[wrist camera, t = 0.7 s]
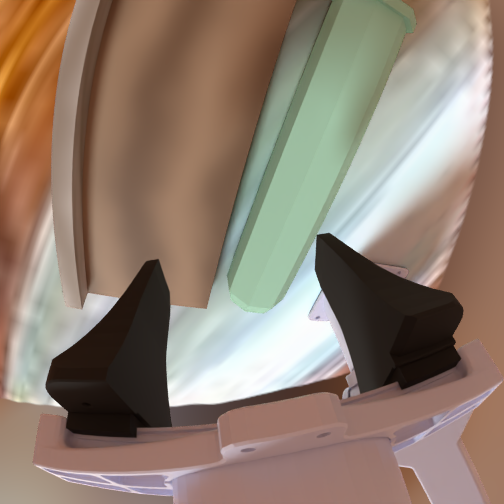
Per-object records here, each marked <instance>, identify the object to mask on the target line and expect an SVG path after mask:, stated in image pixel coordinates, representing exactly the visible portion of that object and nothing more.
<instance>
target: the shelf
mask: <svg viewBox="0 0 504 504" xmlns="http://www.w3.org/2000/svg"><path fill="white" fill-rule="evenodd" d="M296 1H297V0H76V3H75V6H74V10H73V13H72V17H71V20H70V24H69V28H68V32H67V36H66V41H65V45H64V50H63V55H62V60H61V65H60V71H59V77H58V84H57V91H56V99H55V108H54V119H53V134H52V162H51V179H52V207H53V221H54V233H55V242H56V251H57V258H58V266H59V272H60V278H61V284H62V290H63V295H64V300H65V305H66V306H67V307H72V308H77V309H82V308H83V305H84V302H85V299H86V296H87V293H93V294H99V295H105V296H112V297H118V298H120V297H121V296H122V295H123V293H124V292H125V291H126V289H127V288H128V286H129V285H130V284H131V282H132V281H133V279H134V278H135V276H136V275H137V273H138V272H139V270H140V269H141V267H142V266H143V265H144V263H145V262H146V261H149V260H155V259H159V261H160V264H161V268H162V271H163V273H164V276H165V279H166V282H167V285H168V288H169V291H170V305H177V306H186V307H195V308H204V309H207V305H208V301H209V297H210V293H211V289H212V285H213V281H214V277H215V273H216V269H217V265H218V261H219V257H220V254H221V250H222V246H223V242H224V239H225V235H226V231H227V227H228V224H229V220H230V216H231V213H232V209H233V205H234V202H235V198H236V194H237V191H238V187H239V184H240V180H241V177H242V173H243V170H244V166H245V163H246V159H247V156H248V152H249V149H250V145H251V142H252V139H253V135H254V132H255V128H256V125H257V122H258V118H259V115H260V112H261V109H262V105H263V102H264V99H265V95H266V92H267V89H268V86H269V83H270V79H271V76H272V73H273V70H274V67H275V64H276V61H277V57H278V54H279V51H280V48H281V45H282V42H283V39H284V36H285V33H286V30H287V27H288V24H289V21H290V18H291V15H292V12H293V9H294V6H295V3H296Z"/></svg>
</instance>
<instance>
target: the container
mask: <svg viewBox="0 0 504 504" xmlns="http://www.w3.org/2000/svg"><path fill="white" fill-rule="evenodd" d="M416 24H417V23H416V18H415V14H414V10H413V9H412V8H411V7H410V6H408V5H407V4H405V3H404V2H403V1H401V0H332V3H331V5H330V8H329V10H328V13H327V15H326V18H325V20H324V23H323V25H322V27H321V30H320V32H319V35H318V37H317V40H316V42H315V45H314V47H313V50H312V52H311V55H310V57H309V60H308V63H307V65H306V68H305V70H304V73H303V75H302V78H301V80H300V83H299V85H298V88H297V90H296V93H295V96H294V98H293V101H292V103H291V106H290V109H289V111H288V114H287V116H286V119H285V121H284V124H283V127H282V129H281V132H280V135H279V137H278V140H277V142H276V145H275V148H274V150H273V153H272V156H271V158H270V161H269V163H268V166H267V169H266V171H265V174H264V177H263V179H262V182H261V185H260V187H259V190H258V193H257V195H256V198H255V201H254V204H253V206H252V209H251V212H250V214H249V217H248V220H247V222H246V225H245V228H244V231H243V233H242V236H241V239H240V242H239V244H238V247H237V250H236V253H235V255H234V258H233V261H232V264H231V266H230V269H229V272H228V275H227V277H228V285H229V292H230V298H231V300H232V301H233V302H234V303H235V304H237V305H238V306H239V307H240V308H242V309H243V310H244V311H246V312H254V313H263V314H264V313H265V312H267V311H269V310H270V309H272V308H273V307H274V306H275V305H276V304H278V303H279V302H280V301H281V300H282V299H283V298H284V296H285V295H286V293H287V291H288V289H289V287H290V285H291V283H292V281H293V280H294V278H295V276H296V274H297V272H298V270H299V268H300V266H301V264H302V262H303V260H304V259H305V257H306V255H307V253H308V251H309V249H310V247H311V245H312V243H313V241H314V239H315V237H316V235H317V233H318V231H319V229H320V227H321V225H322V223H323V221H324V219H325V217H326V215H327V213H328V211H329V209H330V207H331V205H332V203H333V201H334V199H335V197H336V194H337V192H338V190H339V188H340V186H341V184H342V182H343V180H344V178H345V175H346V173H347V171H348V169H349V167H350V165H351V163H352V160H353V158H354V156H355V154H356V152H357V149H358V147H359V145H360V143H361V141H362V138H363V136H364V134H365V132H366V129H367V127H368V125H369V122H370V120H371V118H372V116H373V113H374V111H375V109H376V106H377V104H378V101H379V99H380V97H381V94H382V92H383V90H384V87H385V85H386V82H387V80H388V77H389V75H390V72H391V70H392V67H393V65H394V62H395V60H396V57H397V55H398V52H399V49H400V47H401V44H402V42H403V39H404V36H405V34H406V33H413V32H414V30H415V27H416Z"/></svg>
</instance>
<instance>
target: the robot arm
mask: <svg viewBox="0 0 504 504" xmlns="http://www.w3.org/2000/svg"><path fill="white" fill-rule="evenodd" d="M315 272H316V275H317V278H318V281H319V283H320V286H321V289H322V291H321V293H320V295H319V297H318V299H317V301H316V302H315V304H314V306H313V308H312V310H311V312H310V313H309V315H308V317H309V319H310V320H315V321H329V322H330V324H331V326H332V329H333V331H334V333H335V336H336V338H337V340H338V343H339V345H340V347H341V350H342V352H343V354H344V357H345V359H346V362H347V364H348V367H349V369H350V371H351V373H350V374H349V375H348V376H346V380H347V382H348V385H349V387H348V388H347V389H345V390H344V392H343V396H342V397H343V398H342V400H339V398H338V395H335V394H331V393H327V392H323V393H316V394H310V395H305V396H301V397H296V398H292V399H287V400H282V401H276V402H271V403H265V404H259V405H253V406H248V407H242V408H238V409H234V410H230V411H228V412H226V413H225V414H223V415H221V416H220V417H219V418H218V422H217V424H208V425H197V426H182V427H172V424H171V417H170V409H169V400H168V389H167V372H166V350H167V340H168V330H169V320H170V291H169V288H168V285H167V282H166V279H165V276H164V273H163V271H162V268H161V264H160V261H159V259H155V260H149V261H146V262H145V263H144V265H143V266H142V267H141V269H140V270H139V272H138V273H137V275H136V276H135V278H134V279H133V281H132V282H131V284H130V285H129V286H128V288H127V289H126V291H125V292H124V293H123V295H122V296H121V297H120V299H119V300H118V301H117V303H116V304H115V305H114V306H113V308H112V309H111V310H110V311H109V312H108V313H107V314H106V316H105V317H104V318H103V319H102V320H101V321H100V322H99V323H98V324H97V325H96V326H95V327H94V328H93V329H92V330H91V331H90V332H88V333H87V334H86V335H85V336H84V337H83V338H82V339H80V340H79V341H78V342H77V343H75V344H74V345H73V346H71V347H70V348H69V349H67V350H66V351H64V352H63V353H61V354H60V355H58V356H57V357H55V358H54V359H53V360H52V363H51V366H50V370H49V373H48V377H47V381H46V390H47V392H48V393H49V395H50V396H51V397H52V398H53V399H54V400H55V401H56V402H58V403H59V404H60V405H61V406H62V407H63V408H64V409H66V410H67V411H68V417H67V418H65V417H63V416H58V415H50V414H41V415H40V420H39V426H38V431H37V437H36V444H35V450H34V457H33V464H34V465H35V466H37V467H39V468H41V469H43V470H45V471H47V472H49V473H51V474H53V475H55V476H57V477H60V478H62V479H64V480H66V481H69V482H74V483H78V484H83V485H89V486H94V487H100V488H106V489H111V490H117V491H125V492H131V493H140V494H150V495H162V496H173V499H174V500H173V501H174V504H412V503H411V500H410V497H409V494H408V491H407V488H406V485H405V482H404V480H403V477H402V474H401V471H400V468H399V466H403V467H409V468H412V469H413V470H414V472H415V474H416V475H417V477H418V479H419V481H420V483H421V485H422V487H423V488H424V490H425V492H426V494H427V496H428V498H429V500H430V502H431V504H491V502H490V500H489V498H488V495H487V493H486V490H485V488H484V486H483V484H482V481H481V479H480V477H479V475H478V472H477V470H476V468H475V466H474V464H473V462H472V460H471V458H470V456H469V454H468V452H467V450H466V447H465V446H464V444H463V442H462V440H461V438H460V437H461V435H462V433H463V431H464V429H465V427H466V425H467V423H468V421H469V419H470V416H471V414H472V412H473V409H475V408H476V407H478V406H479V405H480V404H481V403H482V402H483V401H484V400H485V399H486V398H487V397H488V396H489V395H490V394H491V393H492V392H493V391H494V390H495V389H496V388H497V387H498V385H500V384H501V382H502V381H503V377H502V375H501V373H500V372H499V370H498V368H497V367H496V365H495V363H494V362H493V360H492V359H491V357H490V356H489V354H488V352H487V351H486V349H485V348H484V346H483V345H482V343H481V342H480V340H479V339H476V340H474V341H472V342H470V343H468V344H466V345H463V346H462V347H460V348H459V349H458V350H457V351H456V349H455V347H454V346H453V345H455V343H456V342H455V340H454V338H453V336H452V335H453V334H454V332H455V330H456V329H457V327H458V325H459V323H460V321H461V319H462V316H463V307H462V306H461V304H460V303H459V302H458V300H457V299H456V298H455V296H454V295H453V294H452V293H449V292H444V291H441V290H436V289H432V288H429V287H426V286H423V285H420V284H417V283H414V282H412V281H409V280H407V279H405V278H406V276H407V275H408V273H409V271H408V270H407V269H406V268H401V267H395V266H388V265H382V264H376V263H373V262H371V261H370V260H368V259H367V258H365V257H363V256H362V255H360V254H359V253H357V252H356V251H355V250H353V249H352V248H350V247H349V246H347V245H346V244H345V243H343V242H342V241H340V240H339V239H337V238H336V237H335V236H333V235H332V234H330V233H326V234H319V235H317V240H316V258H315Z"/></svg>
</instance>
